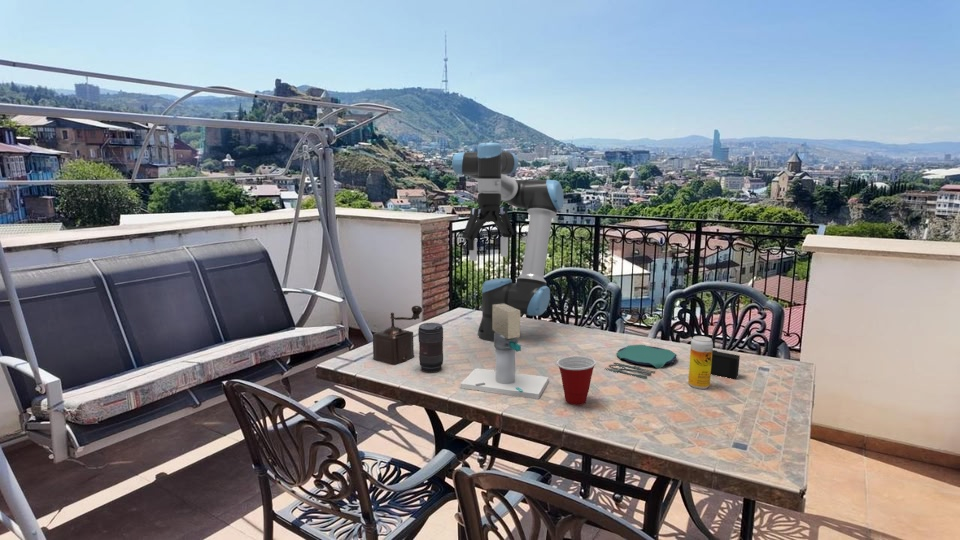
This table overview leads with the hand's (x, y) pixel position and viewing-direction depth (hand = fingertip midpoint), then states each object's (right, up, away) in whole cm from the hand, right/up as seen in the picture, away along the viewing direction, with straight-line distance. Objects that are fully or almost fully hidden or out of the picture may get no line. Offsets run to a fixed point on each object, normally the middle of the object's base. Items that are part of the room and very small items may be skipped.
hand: (489, 258), depth 170 cm
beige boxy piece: (+5, -27, -14) cm, 31 cm away
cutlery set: (+53, -36, +11) cm, 65 cm away
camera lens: (-19, -37, +3) cm, 42 cm away
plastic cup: (+24, -41, -22) cm, 52 cm away
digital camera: (+75, -38, 0) cm, 84 cm away
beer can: (+64, -39, -11) cm, 76 cm away
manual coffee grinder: (-32, -35, +16) cm, 50 cm away
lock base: (+5, -39, -10) cm, 41 cm away
